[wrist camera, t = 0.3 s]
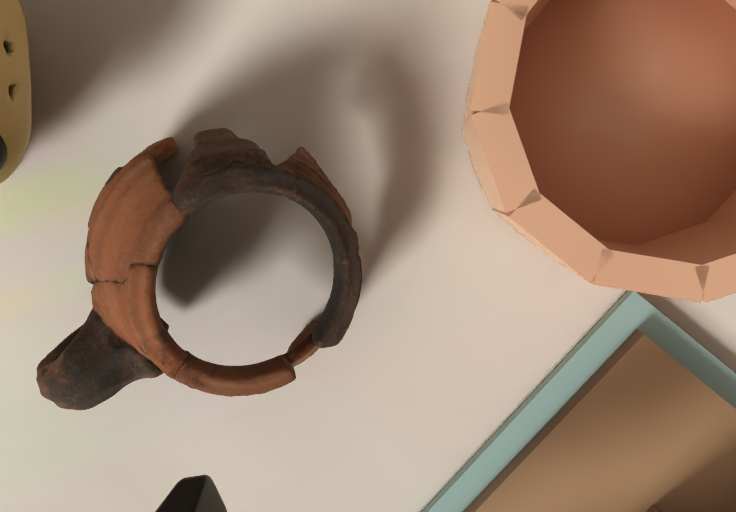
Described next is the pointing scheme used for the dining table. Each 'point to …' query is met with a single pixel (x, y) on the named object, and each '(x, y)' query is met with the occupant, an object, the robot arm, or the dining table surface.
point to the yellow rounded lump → (13, 87)
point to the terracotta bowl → (612, 137)
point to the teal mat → (567, 382)
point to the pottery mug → (144, 252)
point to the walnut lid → (627, 444)
